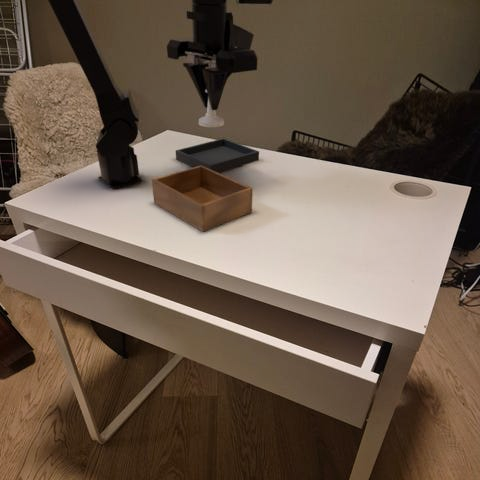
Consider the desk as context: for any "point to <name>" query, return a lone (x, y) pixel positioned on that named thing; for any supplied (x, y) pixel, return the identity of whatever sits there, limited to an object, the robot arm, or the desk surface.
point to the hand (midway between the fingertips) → (211, 108)
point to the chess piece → (211, 116)
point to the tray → (217, 155)
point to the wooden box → (202, 197)
